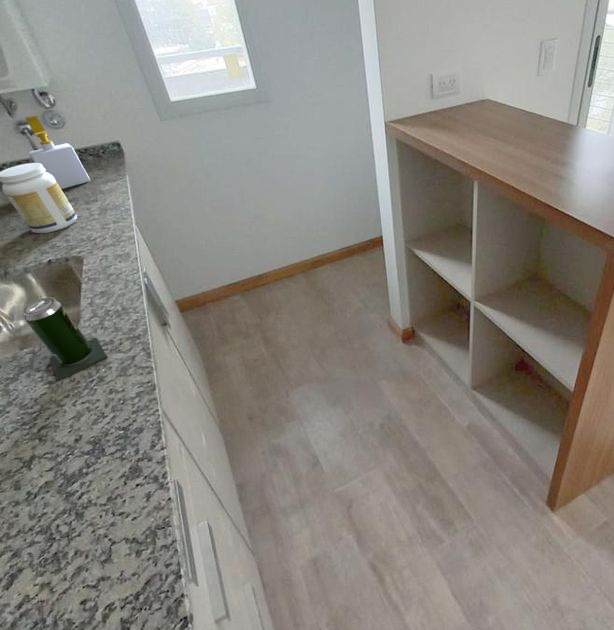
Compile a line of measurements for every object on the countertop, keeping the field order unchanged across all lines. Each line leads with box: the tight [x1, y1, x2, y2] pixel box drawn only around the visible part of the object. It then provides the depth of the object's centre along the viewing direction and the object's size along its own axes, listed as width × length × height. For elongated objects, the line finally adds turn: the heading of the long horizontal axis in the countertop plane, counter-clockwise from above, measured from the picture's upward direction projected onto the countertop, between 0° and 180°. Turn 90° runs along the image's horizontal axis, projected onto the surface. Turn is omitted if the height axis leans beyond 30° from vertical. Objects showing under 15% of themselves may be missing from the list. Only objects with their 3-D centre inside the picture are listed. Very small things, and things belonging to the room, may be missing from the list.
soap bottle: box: [25, 114, 91, 190], centre depth 152 cm, size 12×7×23 cm, turn 134°
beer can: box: [21, 296, 92, 366], centre depth 78 cm, size 5×5×12 cm
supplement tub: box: [0, 162, 78, 234], centre depth 126 cm, size 12×12×17 cm
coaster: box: [48, 336, 109, 382], centre depth 82 cm, size 8×8×1 cm
